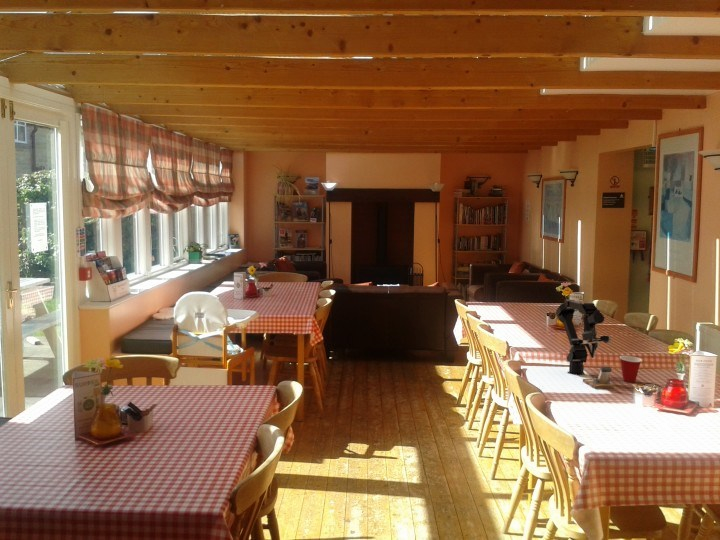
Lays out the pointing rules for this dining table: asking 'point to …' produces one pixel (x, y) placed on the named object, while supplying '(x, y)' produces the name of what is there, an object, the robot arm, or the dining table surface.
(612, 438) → the dining table surface
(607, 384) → the switch base
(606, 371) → the switch lever
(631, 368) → the plastic cup
